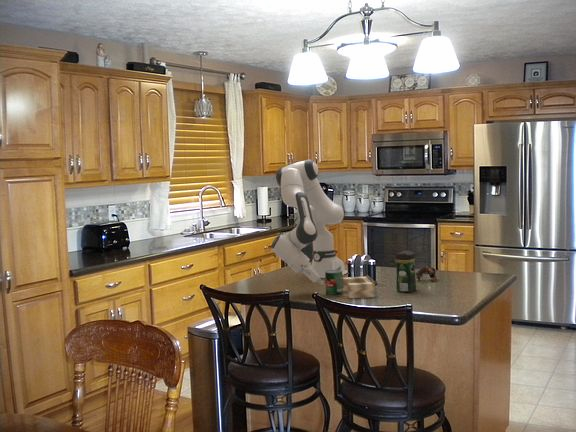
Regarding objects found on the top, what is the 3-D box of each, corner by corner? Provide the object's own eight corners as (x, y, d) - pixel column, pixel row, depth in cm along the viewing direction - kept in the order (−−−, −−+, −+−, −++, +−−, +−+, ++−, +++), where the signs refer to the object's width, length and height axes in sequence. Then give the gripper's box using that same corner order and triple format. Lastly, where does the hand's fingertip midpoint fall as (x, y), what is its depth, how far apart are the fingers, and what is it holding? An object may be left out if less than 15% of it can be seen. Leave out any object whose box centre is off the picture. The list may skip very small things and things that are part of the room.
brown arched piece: (433, 284, 300) (424, 270, 301) (419, 290, 307) (410, 276, 307) (444, 274, 309) (435, 260, 310) (429, 280, 316) (421, 267, 316)
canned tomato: (323, 296, 281) (322, 272, 280) (328, 292, 288) (327, 269, 287) (340, 296, 278) (339, 272, 277) (345, 293, 285) (344, 269, 284)
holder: (349, 298, 274) (349, 283, 273) (343, 290, 293) (343, 276, 292) (375, 297, 274) (374, 281, 274) (367, 288, 293) (367, 274, 293)
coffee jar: (402, 288, 291) (401, 249, 290) (418, 289, 287) (417, 249, 285) (393, 292, 284) (392, 251, 282) (409, 293, 279) (408, 252, 278)
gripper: (307, 262, 271) (330, 282, 272) (303, 255, 291) (325, 275, 292) (297, 272, 271) (320, 293, 272) (294, 265, 291) (316, 284, 292)
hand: (322, 283), depth 282 cm, fingers closed
